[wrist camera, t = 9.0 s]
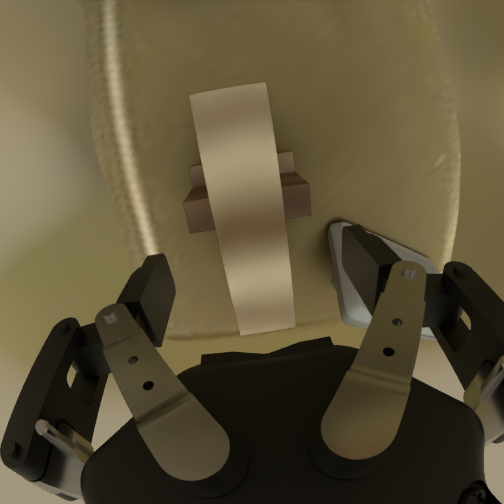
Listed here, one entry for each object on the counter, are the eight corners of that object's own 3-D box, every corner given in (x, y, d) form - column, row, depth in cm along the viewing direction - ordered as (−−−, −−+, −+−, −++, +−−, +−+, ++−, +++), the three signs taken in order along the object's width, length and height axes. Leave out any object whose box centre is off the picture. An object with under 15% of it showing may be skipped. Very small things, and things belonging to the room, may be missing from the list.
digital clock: (433, 262, 29) (482, 310, 20) (390, 314, 33) (426, 371, 23) (349, 191, 25) (407, 233, 16) (297, 262, 28) (325, 332, 19)
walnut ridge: (190, 166, 23) (177, 178, 18) (291, 150, 23) (306, 158, 18) (203, 227, 26) (195, 255, 21) (297, 213, 26) (312, 237, 21)
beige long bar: (199, 101, 16) (189, 95, 12) (259, 91, 16) (265, 82, 12) (239, 302, 23) (240, 335, 19) (287, 295, 23) (295, 326, 19)
